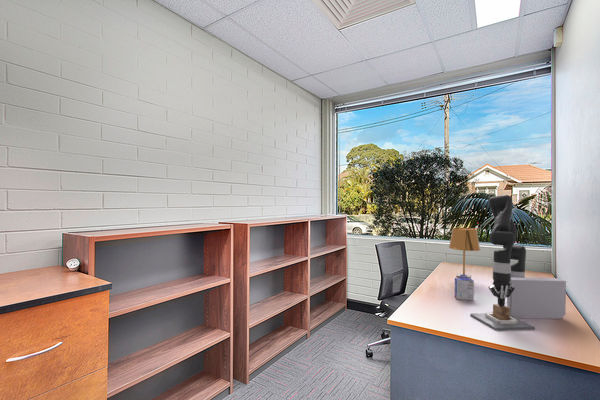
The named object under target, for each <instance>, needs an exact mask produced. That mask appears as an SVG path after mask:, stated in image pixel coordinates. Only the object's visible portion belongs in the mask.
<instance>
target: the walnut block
mask: <svg viewBox="0 0 600 400" xmlns="http://www.w3.org/2000/svg"><path fill="white" fill-rule="evenodd" d="M492 313H493V317H495V318H496V319H498V320H510V307H507V305H506V304H505V305H504V306H500V305H498V303H494V304H492Z"/></svg>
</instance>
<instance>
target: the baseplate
mask: <svg viewBox="0 0 600 400" xmlns="http://www.w3.org/2000/svg"><path fill="white" fill-rule="evenodd" d="M469 314H470V317H471V318H473V319H475V320H477V321H479V322H480V323H482V324H483V325H486V326H488V328H491V329H492V328H493V329H492V330H494V331H496V330H499V331H519V330H520V331H521V330H522V331H526V330H528V331H530V330H535V329H536V327H535V326H534V325H532V324H530V323H528V322H526V321H524V320H522V319H521V318H516V317H513V316H511V315H510V320H498V319H496V318H495V317H493V312H485V313H483V312H475V313H469Z"/></svg>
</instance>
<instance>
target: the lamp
mask: <svg viewBox="0 0 600 400" xmlns="http://www.w3.org/2000/svg"><path fill="white" fill-rule="evenodd" d="M448 249H452V250H456V251H462V273H459V272H457V273H456V275H455V276H456V277H455V278H460V275H466V276H467V279H472V274H469V273H468V274H466V273H465V272H466V252H467V251H468V252H479V251H481V247H480V241H479V235H478V230H477V228H472V227H452V231H451V235H450V240H449V246H448ZM461 277H465V276H461Z"/></svg>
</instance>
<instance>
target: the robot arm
mask: <svg viewBox="0 0 600 400" xmlns="http://www.w3.org/2000/svg"><path fill="white" fill-rule="evenodd" d="M488 205H489V208H490V211H491V213H492V215H493V219H494V221H493V224H494V225H493V229H492V231H491V232H490V234H489V241H490V243H491V245H494V246H502V248H503V249H501V248H500V249H494V250H493V262H492V279H493V282H492V285H491V286H488V289H489V291H490V292H491V294H492V295H493V296H494V297H496V298H497V304H498V305H500V306H504V305H505V306H506V299H507V297H509V296H510V295H511V293H512V292H513V291H514V289H515V288H514V287H512V286H511V285H510V281H511V278H526V257H527V250H526V249H527V248H526V247H525V246H523V245H518V244H517V245H516V244H515V242H516V236H517V235H518V230H517V225H516V223H515V222H514V221H513V220H512V219H511V218H512V212H513V209H514V203H513V198H512V197H511V195H508V194H504V195H503V194H502V195H495V196H492V197H491V196H490V197H489V199H488ZM511 260H514V261H515V260H516V261H517V262H516V263H511ZM507 293H508V294H507Z"/></svg>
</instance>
